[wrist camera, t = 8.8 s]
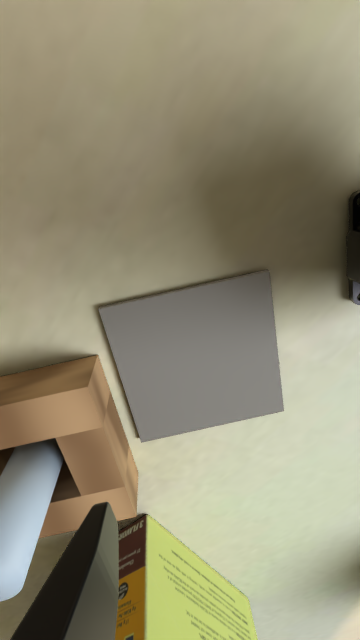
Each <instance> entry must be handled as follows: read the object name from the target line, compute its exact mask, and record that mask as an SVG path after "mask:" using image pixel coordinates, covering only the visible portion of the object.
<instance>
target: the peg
mask: <svg viewBox="0 0 360 640" xmlns="http://www.w3.org/2000/svg"><path fill="white" fill-rule="evenodd" d="M63 460H64V456H63V454H62V452H61V450H60V447H59V445H58V443H57V441H56V438H52V439H47V440H43V441H38V442H34V443H29V444H25V445H20V446H16V447H15V449H14V451H13V453H12V455H11V457H10V459H9V460H8V462H7V464H6V466H5V468H4V470H3V472H2V474H1V476H0V601H4V600H7V599H10V598H12V597H14V596H15V595H17V594H18V593H19V592H20V591H21V589H22V588H23V585H24V582H25V579H26V576H27V572H28V569H29V566H30V563H31V560H32V557H33V554H34V551H35V547H36V544H37V541H38V538H39V535H40V532H41V529H42V526H43V522H44V519H45V516H46V513H47V510H48V507H49V504H50V501H51V497H52V494H53V491H54V488H55V485H56V482H57V479H58V476H59V472H60V469H61V466H62V463H63Z"/></svg>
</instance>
